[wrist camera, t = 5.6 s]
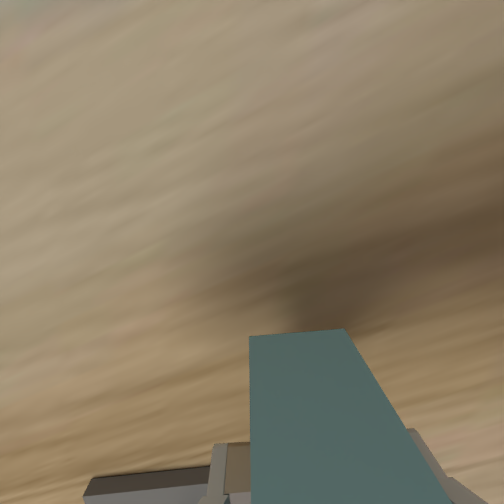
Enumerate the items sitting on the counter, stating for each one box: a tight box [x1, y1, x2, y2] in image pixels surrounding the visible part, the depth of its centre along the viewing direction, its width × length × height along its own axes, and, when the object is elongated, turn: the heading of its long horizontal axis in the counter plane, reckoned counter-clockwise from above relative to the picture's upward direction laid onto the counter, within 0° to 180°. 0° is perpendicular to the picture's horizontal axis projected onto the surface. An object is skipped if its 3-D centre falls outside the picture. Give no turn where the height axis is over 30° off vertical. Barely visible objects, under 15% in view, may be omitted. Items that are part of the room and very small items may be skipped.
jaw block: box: [249, 329, 452, 504], centre depth 9 cm, size 4×6×7 cm, turn 5°
